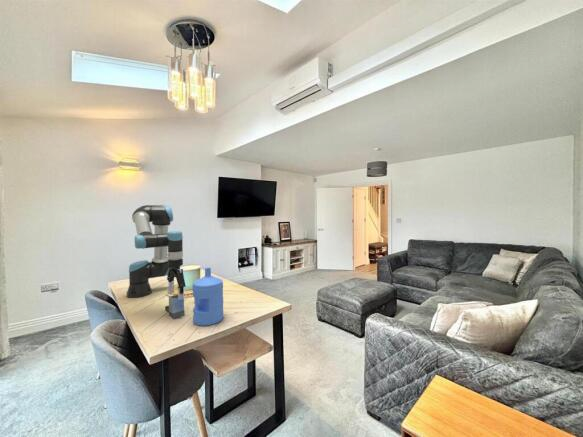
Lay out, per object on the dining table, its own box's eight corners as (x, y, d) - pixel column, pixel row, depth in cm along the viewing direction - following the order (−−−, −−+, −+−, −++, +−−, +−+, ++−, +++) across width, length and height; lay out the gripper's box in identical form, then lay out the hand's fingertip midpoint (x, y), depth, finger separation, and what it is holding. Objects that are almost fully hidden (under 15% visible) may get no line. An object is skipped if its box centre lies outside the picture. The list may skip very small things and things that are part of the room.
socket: (169, 310, 136) (168, 296, 136) (179, 307, 141) (179, 294, 141) (173, 313, 132) (172, 299, 132) (184, 310, 137) (183, 296, 136)
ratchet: (162, 310, 144) (162, 297, 144) (173, 307, 148) (172, 294, 148) (173, 319, 132) (173, 304, 132) (184, 315, 136) (184, 301, 136)
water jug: (215, 311, 143) (214, 264, 142) (228, 319, 131) (228, 268, 130) (188, 319, 132) (187, 268, 131) (200, 329, 120) (199, 273, 120)
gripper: (160, 256, 142) (161, 292, 143) (177, 263, 124) (178, 303, 125) (173, 254, 147) (174, 289, 148) (191, 261, 130) (192, 299, 131)
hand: (176, 296), depth 137 cm, fingers open, 13 cm apart
